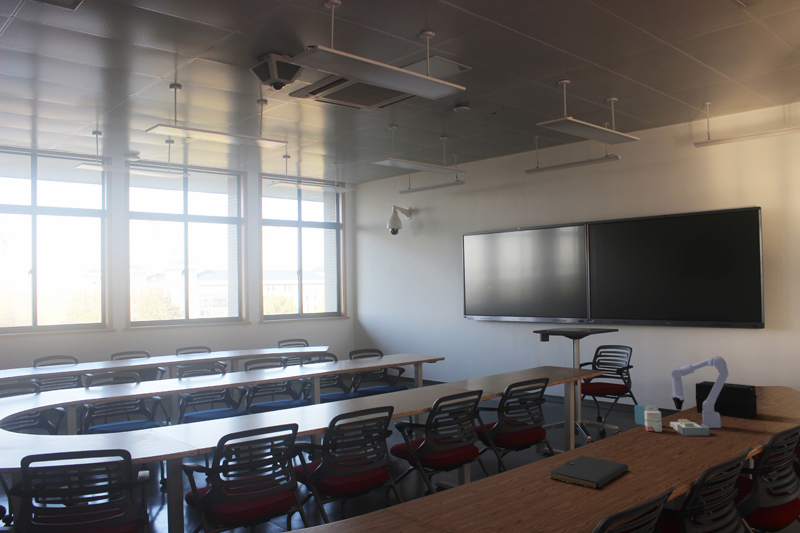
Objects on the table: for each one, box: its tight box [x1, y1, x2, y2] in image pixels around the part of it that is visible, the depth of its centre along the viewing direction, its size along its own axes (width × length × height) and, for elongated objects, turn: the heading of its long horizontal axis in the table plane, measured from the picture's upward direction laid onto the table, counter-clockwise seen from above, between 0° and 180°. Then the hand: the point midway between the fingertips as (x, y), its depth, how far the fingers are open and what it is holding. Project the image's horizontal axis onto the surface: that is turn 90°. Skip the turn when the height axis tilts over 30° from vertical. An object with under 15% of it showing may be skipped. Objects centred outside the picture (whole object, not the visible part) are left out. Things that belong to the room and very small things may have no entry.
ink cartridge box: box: [644, 405, 663, 433], centre depth 343 cm, size 9×5×15 cm, turn 84°
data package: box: [633, 404, 654, 426], centre depth 359 cm, size 12×4×12 cm, turn 39°
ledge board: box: [669, 421, 703, 432], centre depth 345 cm, size 14×14×2 cm
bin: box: [677, 423, 711, 437], centre depth 333 cm, size 15×9×4 cm, turn 82°
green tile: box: [682, 421, 694, 427], centre depth 342 cm, size 5×5×2 cm
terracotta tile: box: [677, 418, 691, 424], centre depth 348 cm, size 5×5×2 cm
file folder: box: [549, 455, 629, 489], centre depth 266 cm, size 33×4×24 cm
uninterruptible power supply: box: [695, 380, 758, 420], centre depth 379 cm, size 16×34×20 cm, turn 39°
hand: (678, 409), depth 356 cm, fingers closed
